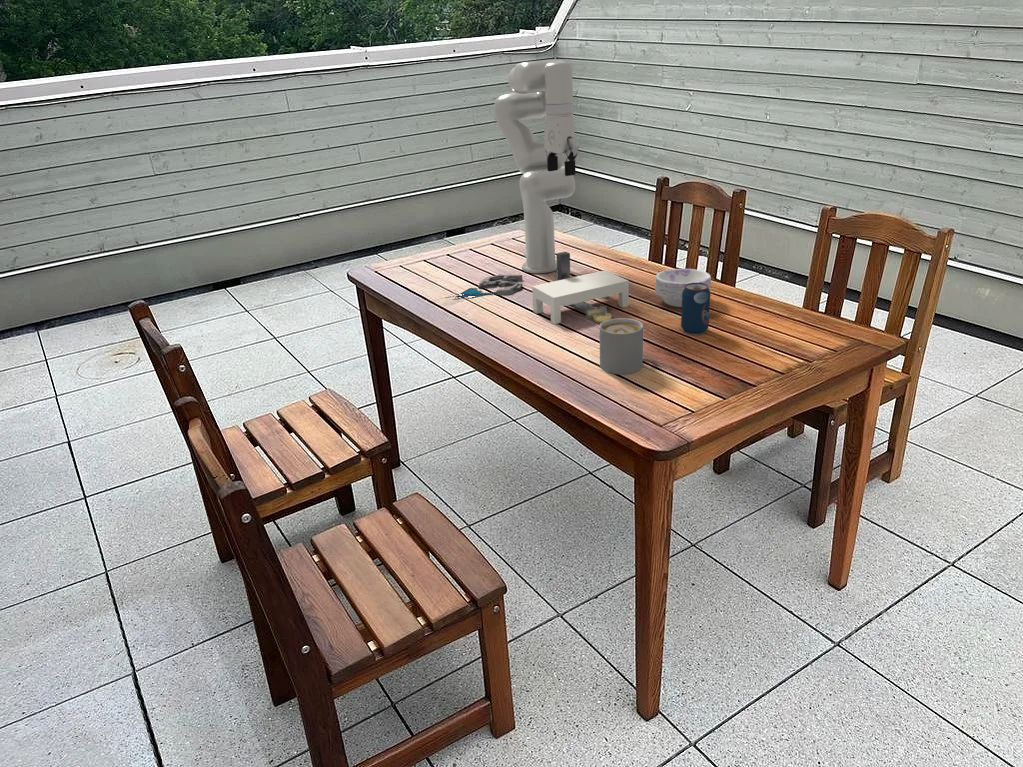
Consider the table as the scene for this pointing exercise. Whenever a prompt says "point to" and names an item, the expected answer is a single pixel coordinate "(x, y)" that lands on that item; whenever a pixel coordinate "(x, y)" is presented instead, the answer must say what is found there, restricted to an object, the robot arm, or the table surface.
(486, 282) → the weapon
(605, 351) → the coffee mug
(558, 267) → the blade tool
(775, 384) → the table surface
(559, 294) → the low stand
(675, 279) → the paper bowls
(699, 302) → the soda can
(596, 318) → the brass puck
